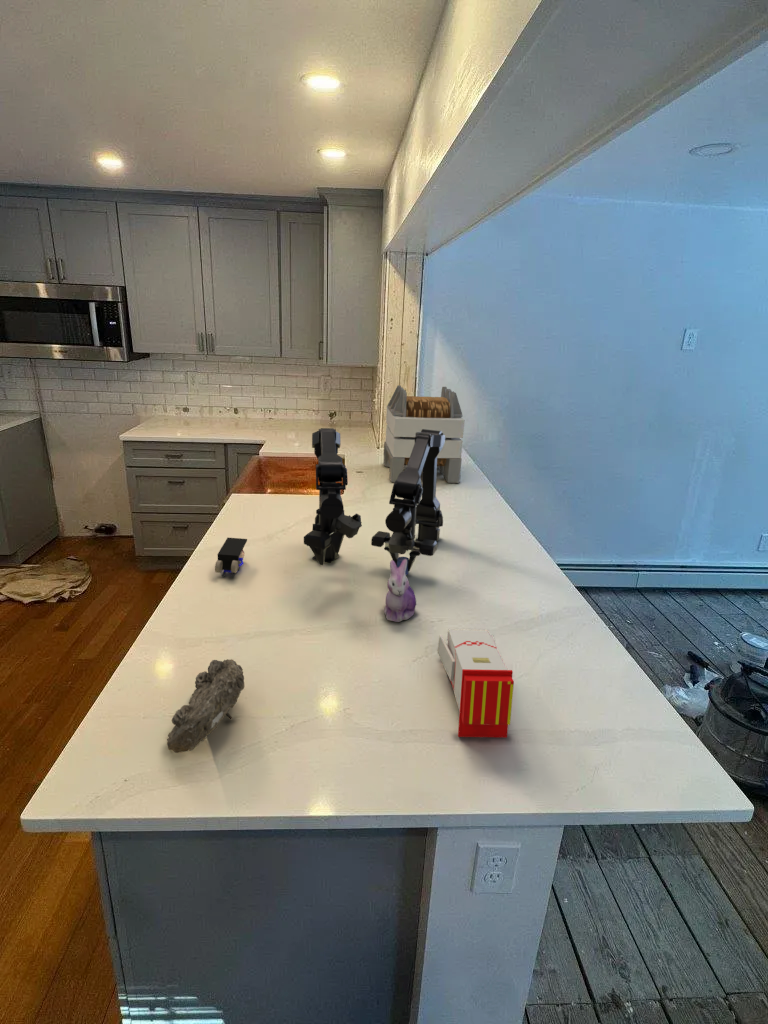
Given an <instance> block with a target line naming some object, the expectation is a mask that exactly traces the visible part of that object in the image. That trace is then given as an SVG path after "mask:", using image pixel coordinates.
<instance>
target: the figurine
mask: <svg viewBox="0 0 768 1024" xmlns="http://www.w3.org/2000/svg"><path fill="white" fill-rule="evenodd" d="M406 567H407V559H404V560H403V561H402V563H401V565H400V566H399V567H397V566H396V564H395V562H394V561H393V560H392V559H391V560H390V561H389V570H390V576H389V578H388V579H387V589H388V591H387V592H386V594H385V595H386V596H385V607H384V615H385V616H386V620H387V621H391V622H395V623H400V622H402V621H406V620H409V619H410V618H411V617H413V616H414V615H415V610H416V606H417V597H416V593H415V591H414V590H413V587H411V586H410V582H409V579H408V577H407V575H406V574H405V571H406Z"/></svg>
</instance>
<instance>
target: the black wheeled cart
mask: <svg viewBox="0 0 768 1024" xmlns="http://www.w3.org/2000/svg"><path fill="white" fill-rule="evenodd" d="M247 542H248V538H240V537H226V539H225V541H224V543H223V544H222V546H221V547H220V549H219V551H218V552H217V560H216V562H215V564H214V572H215V573H221V577H222V578H224V577H225V576H226V574H227V573H230V574H231V573H232V574H231V578H234V577H235V575H236V573H237V572H239V571H240V567H242V566H243V565H244V564H245V562H244V558H245V551H244V547H245V546H246V544H247Z"/></svg>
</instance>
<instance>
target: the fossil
mask: <svg viewBox="0 0 768 1024" xmlns="http://www.w3.org/2000/svg"><path fill="white" fill-rule="evenodd" d="M243 670H244V669H243V667H242V665H240V664H237V662H236V661H235V660H234V659H232V658H231V659H227V658H226V659H224V660H223V661H222V660H217V659H212V660H211V661H210V663H209V665H208V666H207V671H201V672H199V673H198V674H197V675H196V676H195V680H194V684H195V685H194V687H195V689H194V690H193V693H192V694H191V697H190V698H189V700H188V704H184V705H182V706H181V707H180V709H177V710H176V711H175V713H174V715H173V716H172V718H171V723H172V724H173V727H172V730H171V731H170V732H168V734H167V738H166V741H167V742H166V745H167V749H168V750H169V751H173V752H174V753H176V754H178V753H182V752H188V751H189V752H192V751H193V750H195V748H196V747H197V746H199V744H200V743H201V742H203V741H204V740H205V739H206V738H207V737H208V736H209V735H210V734H211V733H212V732H214V730H215V729H217V727H218V726H219V724H220V722H221V721H222V720H223V719H224V718H225V716H226V717H227V719H229V720H233V717H232V715H230V714H229V710H230V709H231V708H234V706H235V704H236V703H237V702H238V699H239V697H240V695H241V693H242V691H243V690H245V689H244V688H245V675H244V671H243Z"/></svg>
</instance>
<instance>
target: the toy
mask: <svg viewBox="0 0 768 1024" xmlns="http://www.w3.org/2000/svg"><path fill="white" fill-rule="evenodd" d="M446 640H447V643H446V641H445V639H444V636H443V635H442V634H439V637H438V646H437V656H438V657H439V659H440V661H441V663H442V666H443V668H444V670H445V672H446V674H447V677H448V679H449V681H450V684H451V687H452V690H453V693H454V697H455V701H456V705H457V708H458V711H459V714H458V715H459V716H458V730H457V731H458V732H457V737H458V738H508V731H509V726H510V725H511V717H512V707H513V697H514V696H513V695H514V684H515V680H514V679H513V673H514V671H513V670H512V669H508V667H507V665H506V662H505V661H504V659H503V658H502V655H501V653H500V651H499V649H498V647H497V643H496V639H495V637H494V635H493V634H491V632H490V631H489V629H467V628H466V629H465V628H463V629H461V628H460V629H459V628H448V630H447V639H446Z"/></svg>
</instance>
